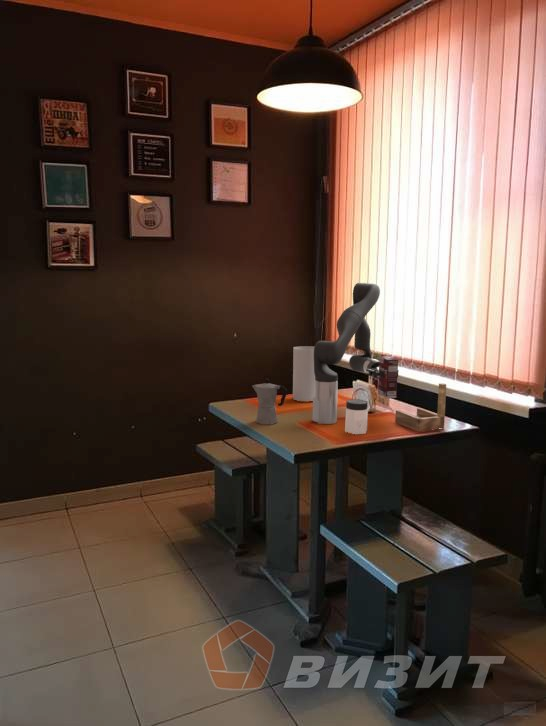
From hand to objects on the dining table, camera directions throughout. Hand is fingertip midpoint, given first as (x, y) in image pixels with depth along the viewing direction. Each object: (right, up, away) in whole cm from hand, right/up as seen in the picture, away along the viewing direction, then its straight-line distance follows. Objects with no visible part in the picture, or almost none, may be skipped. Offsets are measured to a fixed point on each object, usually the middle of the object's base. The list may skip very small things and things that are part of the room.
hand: (390, 375), depth 243 cm
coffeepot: (-49, -19, +3) cm, 53 cm away
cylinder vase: (-32, -13, +45) cm, 56 cm away
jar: (-15, -22, -10) cm, 28 cm away
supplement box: (-1, -9, +4) cm, 10 cm away
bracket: (+11, -20, -1) cm, 23 cm away
